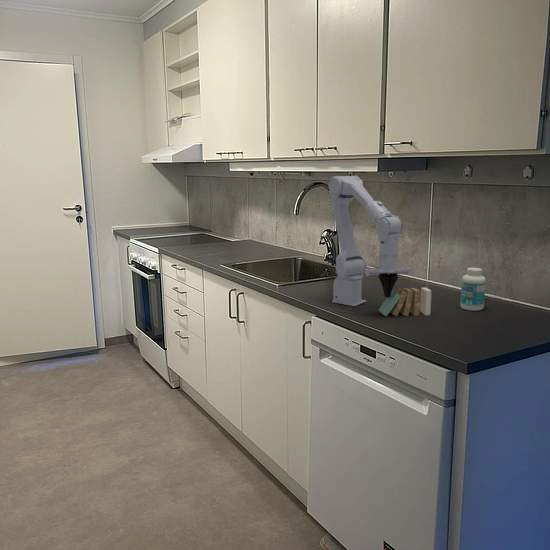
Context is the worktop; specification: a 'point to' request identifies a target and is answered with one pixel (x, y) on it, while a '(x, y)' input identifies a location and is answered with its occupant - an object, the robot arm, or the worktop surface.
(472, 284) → the pill bottle
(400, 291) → the domino
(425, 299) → the domino
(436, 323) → the worktop surface
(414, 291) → the domino
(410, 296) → the domino
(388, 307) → the domino
